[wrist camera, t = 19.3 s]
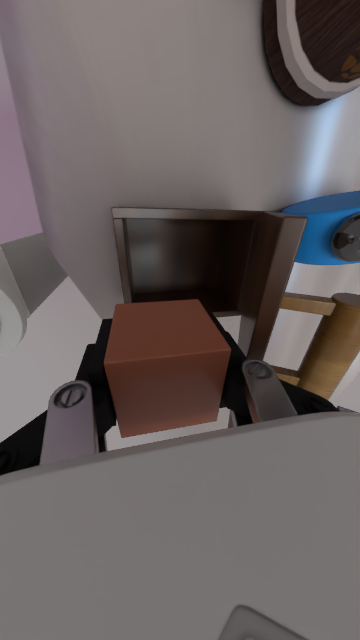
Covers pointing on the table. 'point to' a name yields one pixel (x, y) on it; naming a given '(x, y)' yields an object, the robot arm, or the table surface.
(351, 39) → the mug
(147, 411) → the block
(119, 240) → the chest
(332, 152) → the table surface
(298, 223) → the lid
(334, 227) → the alarm clock
